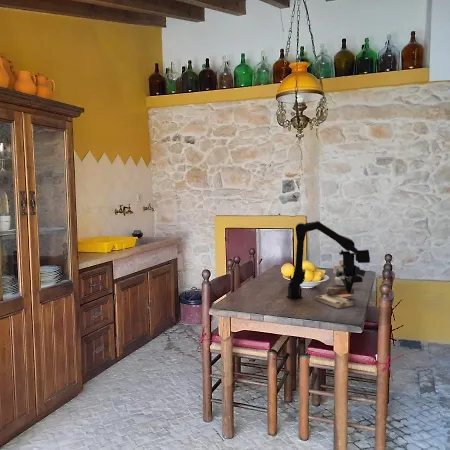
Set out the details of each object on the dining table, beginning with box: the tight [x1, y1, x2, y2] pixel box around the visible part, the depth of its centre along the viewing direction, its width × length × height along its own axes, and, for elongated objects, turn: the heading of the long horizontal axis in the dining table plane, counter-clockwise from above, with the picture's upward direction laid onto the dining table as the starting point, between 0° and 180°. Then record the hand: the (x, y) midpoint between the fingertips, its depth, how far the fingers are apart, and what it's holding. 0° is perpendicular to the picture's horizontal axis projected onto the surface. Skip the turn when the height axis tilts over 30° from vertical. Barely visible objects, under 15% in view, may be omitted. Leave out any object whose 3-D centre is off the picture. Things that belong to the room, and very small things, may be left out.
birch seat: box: [315, 293, 354, 309], centre depth 221 cm, size 10×17×2 cm, turn 25°
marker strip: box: [337, 294, 353, 298], centre depth 231 cm, size 10×4×1 cm, turn 115°
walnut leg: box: [326, 286, 355, 296], centre depth 228 cm, size 14×4×3 cm, turn 95°
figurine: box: [332, 258, 345, 286], centre depth 257 cm, size 7×9×15 cm
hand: (349, 293), depth 226 cm, fingers closed
